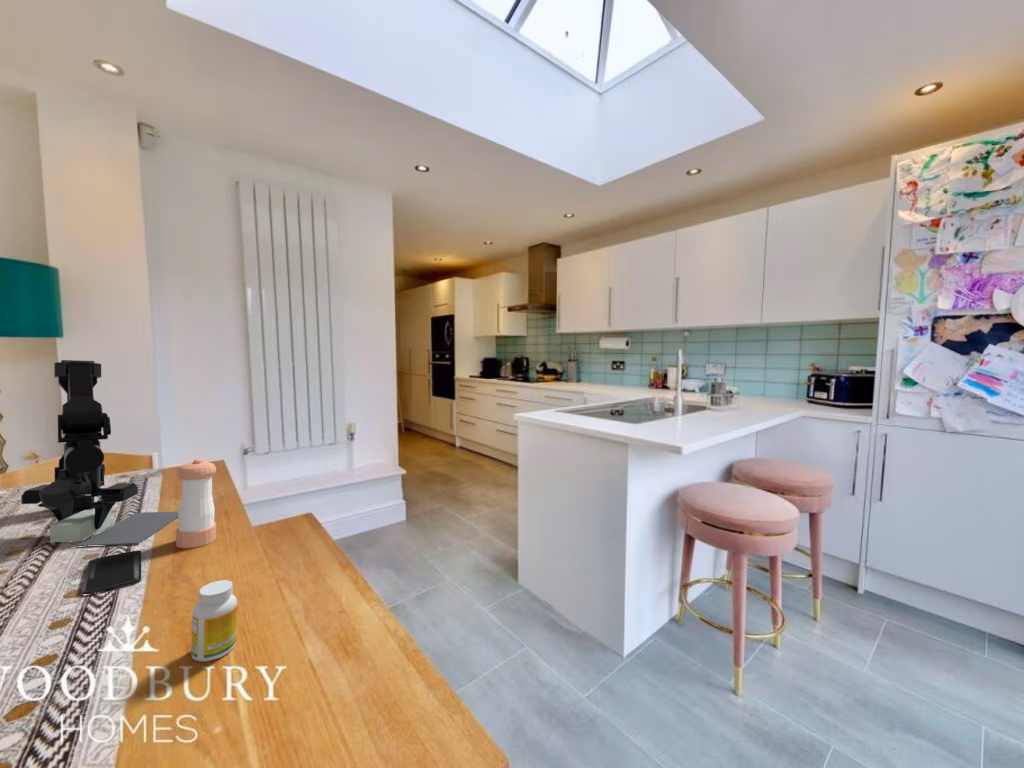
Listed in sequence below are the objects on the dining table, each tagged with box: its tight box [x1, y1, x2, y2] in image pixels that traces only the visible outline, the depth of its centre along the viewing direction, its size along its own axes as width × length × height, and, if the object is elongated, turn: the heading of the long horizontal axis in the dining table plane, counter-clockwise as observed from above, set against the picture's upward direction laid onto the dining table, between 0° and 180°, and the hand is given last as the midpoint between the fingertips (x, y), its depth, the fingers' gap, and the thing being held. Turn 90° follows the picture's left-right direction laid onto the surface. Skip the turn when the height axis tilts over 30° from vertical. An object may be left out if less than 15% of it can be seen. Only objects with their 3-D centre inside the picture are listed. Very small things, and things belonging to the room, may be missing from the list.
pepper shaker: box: [175, 458, 217, 549], centre depth 92 cm, size 7×7×19 cm
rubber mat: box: [77, 510, 179, 546], centre depth 98 cm, size 19×11×1 cm, turn 14°
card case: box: [49, 509, 112, 544], centre depth 93 cm, size 9×6×4 cm, turn 11°
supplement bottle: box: [190, 579, 238, 663], centre depth 60 cm, size 5×5×10 cm
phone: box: [81, 550, 142, 595], centre depth 78 cm, size 8×1×15 cm
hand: (82, 529), depth 93 cm, fingers closed on card case, 6 cm apart
